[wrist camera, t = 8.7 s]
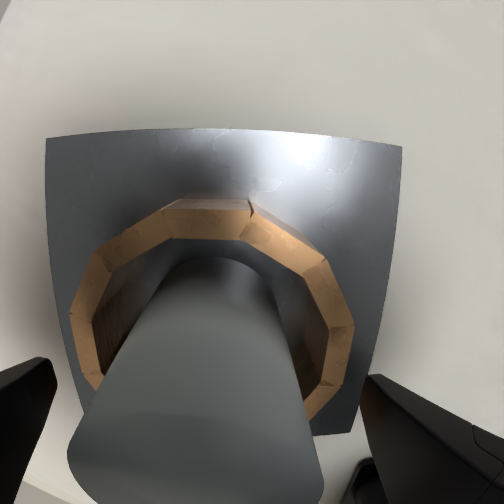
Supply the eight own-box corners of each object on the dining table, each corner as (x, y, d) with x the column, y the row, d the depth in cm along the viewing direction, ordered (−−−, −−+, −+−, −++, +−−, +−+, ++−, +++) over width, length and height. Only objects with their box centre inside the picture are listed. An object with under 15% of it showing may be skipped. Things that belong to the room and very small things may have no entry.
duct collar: (346, 422, 15) (366, 472, 12) (91, 412, 15) (68, 459, 11) (393, 147, 12) (445, 143, 8) (55, 139, 11) (0, 134, 7)
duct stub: (283, 259, 12) (352, 412, 4) (273, 371, 13) (301, 539, 5) (148, 254, 12) (32, 387, 4) (156, 366, 13) (105, 525, 5)
